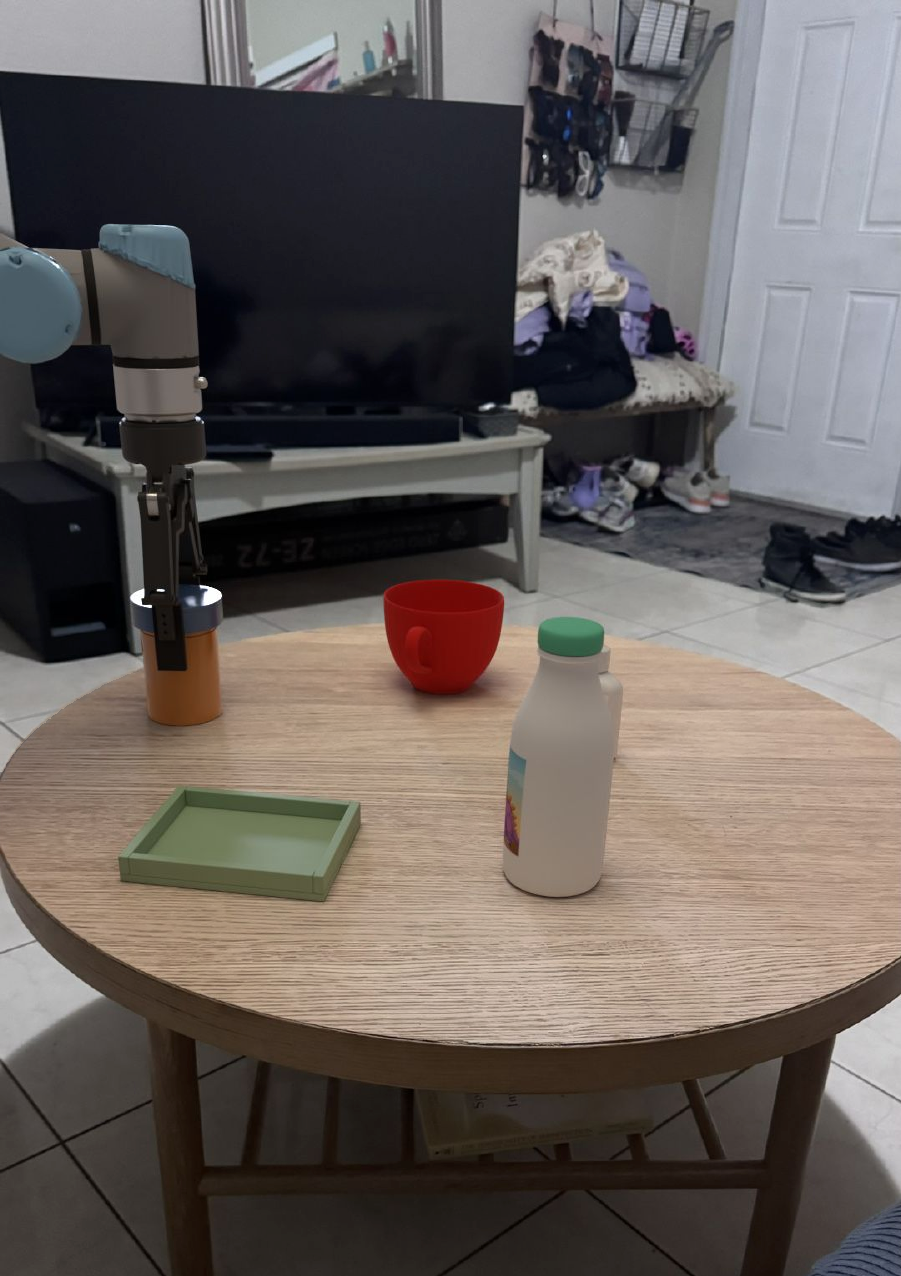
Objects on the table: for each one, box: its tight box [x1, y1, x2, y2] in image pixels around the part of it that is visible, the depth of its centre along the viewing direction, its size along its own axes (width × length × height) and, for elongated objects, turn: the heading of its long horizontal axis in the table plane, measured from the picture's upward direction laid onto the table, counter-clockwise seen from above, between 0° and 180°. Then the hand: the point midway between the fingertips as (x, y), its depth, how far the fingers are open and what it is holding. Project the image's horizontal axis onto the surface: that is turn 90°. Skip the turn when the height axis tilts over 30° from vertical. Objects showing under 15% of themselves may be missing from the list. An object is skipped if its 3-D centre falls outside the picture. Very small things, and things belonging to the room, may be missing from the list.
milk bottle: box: [502, 616, 615, 898], centre depth 82 cm, size 8×8×20 cm
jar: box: [139, 626, 223, 727], centre depth 112 cm, size 7×7×11 cm
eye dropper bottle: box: [598, 642, 624, 759], centre depth 105 cm, size 4×6×12 cm
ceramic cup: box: [382, 579, 505, 695], centre depth 120 cm, size 13×17×10 cm
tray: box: [117, 784, 362, 902], centre depth 88 cm, size 16×13×2 cm
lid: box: [129, 584, 224, 634], centre depth 109 cm, size 9×9×2 cm
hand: (182, 653), depth 111 cm, fingers closed on lid, 9 cm apart
